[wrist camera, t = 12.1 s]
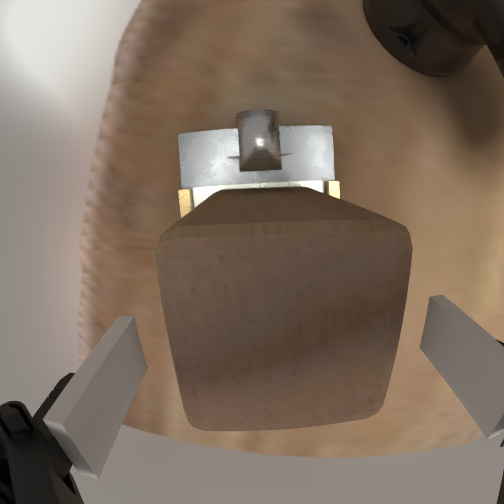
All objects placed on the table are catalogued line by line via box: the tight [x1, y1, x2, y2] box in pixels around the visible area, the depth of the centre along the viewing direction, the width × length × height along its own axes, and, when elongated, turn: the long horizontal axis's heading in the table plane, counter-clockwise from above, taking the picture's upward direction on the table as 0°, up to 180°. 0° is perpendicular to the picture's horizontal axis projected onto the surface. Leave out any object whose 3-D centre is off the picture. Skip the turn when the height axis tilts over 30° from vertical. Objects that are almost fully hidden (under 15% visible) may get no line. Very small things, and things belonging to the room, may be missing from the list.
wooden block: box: [155, 187, 413, 431], centre depth 21 cm, size 10×10×20 cm
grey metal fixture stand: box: [178, 110, 340, 218], centre depth 28 cm, size 22×15×10 cm
